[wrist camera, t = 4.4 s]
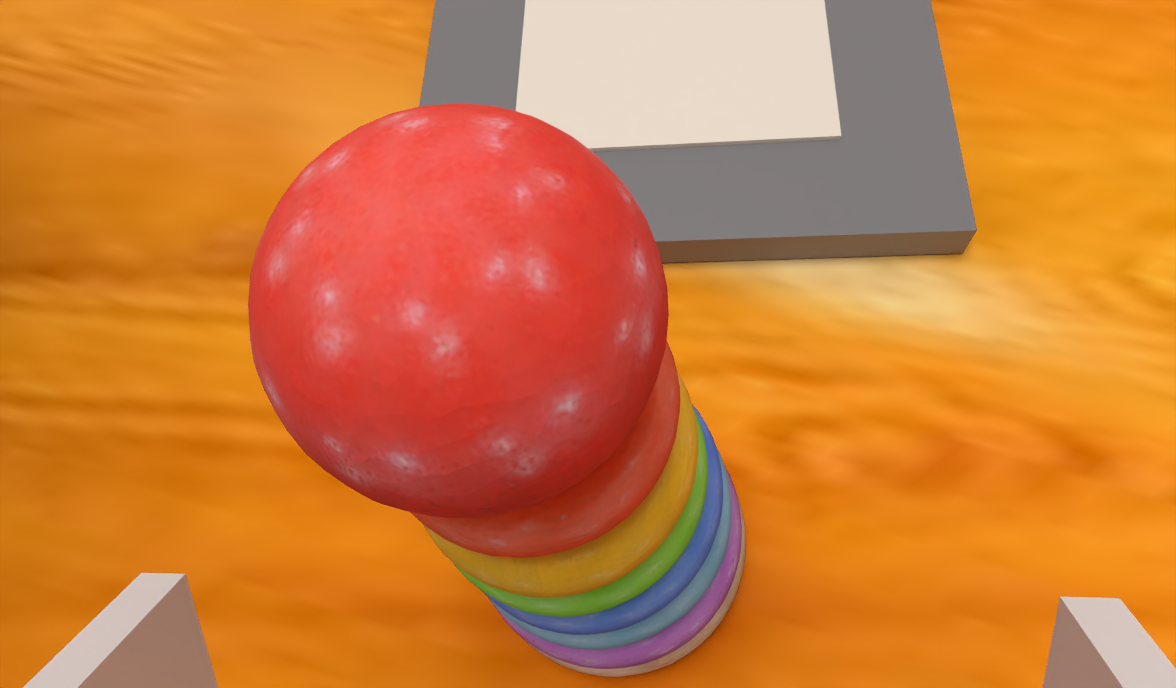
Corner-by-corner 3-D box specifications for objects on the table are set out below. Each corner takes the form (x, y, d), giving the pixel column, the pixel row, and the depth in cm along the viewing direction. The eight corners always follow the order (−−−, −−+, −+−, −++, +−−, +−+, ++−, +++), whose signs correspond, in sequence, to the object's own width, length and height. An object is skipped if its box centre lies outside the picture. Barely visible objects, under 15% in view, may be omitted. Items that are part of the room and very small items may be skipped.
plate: (410, 270, 29) (395, 247, 28) (462, -89, 38) (452, -123, 36) (962, 253, 27) (979, 226, 25) (890, -128, 35) (899, -165, 34)
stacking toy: (649, 377, 27) (580, -181, 10) (796, 581, 23) (1085, 283, 6) (450, 502, 26) (-23, 129, 9) (573, 733, 22) (207, 867, 5)
